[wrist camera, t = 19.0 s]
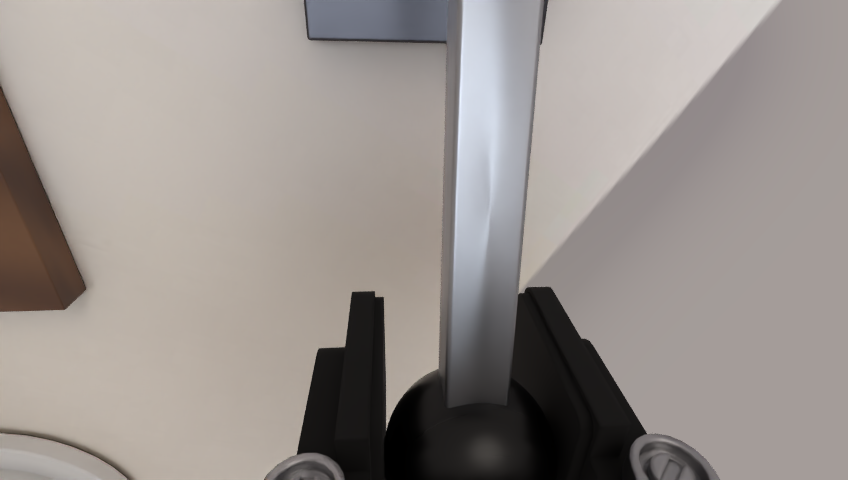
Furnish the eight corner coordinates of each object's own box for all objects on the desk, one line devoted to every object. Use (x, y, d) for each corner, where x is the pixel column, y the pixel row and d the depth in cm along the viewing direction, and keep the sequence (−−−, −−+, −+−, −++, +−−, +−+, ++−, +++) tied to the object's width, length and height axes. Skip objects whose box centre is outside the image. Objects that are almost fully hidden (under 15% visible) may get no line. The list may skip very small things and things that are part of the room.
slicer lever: (519, 448, 10) (576, 597, 7) (384, 456, 10) (384, 614, 7) (602, -371, 6) (839, -881, 3) (365, -397, 6) (342, -993, 3)
